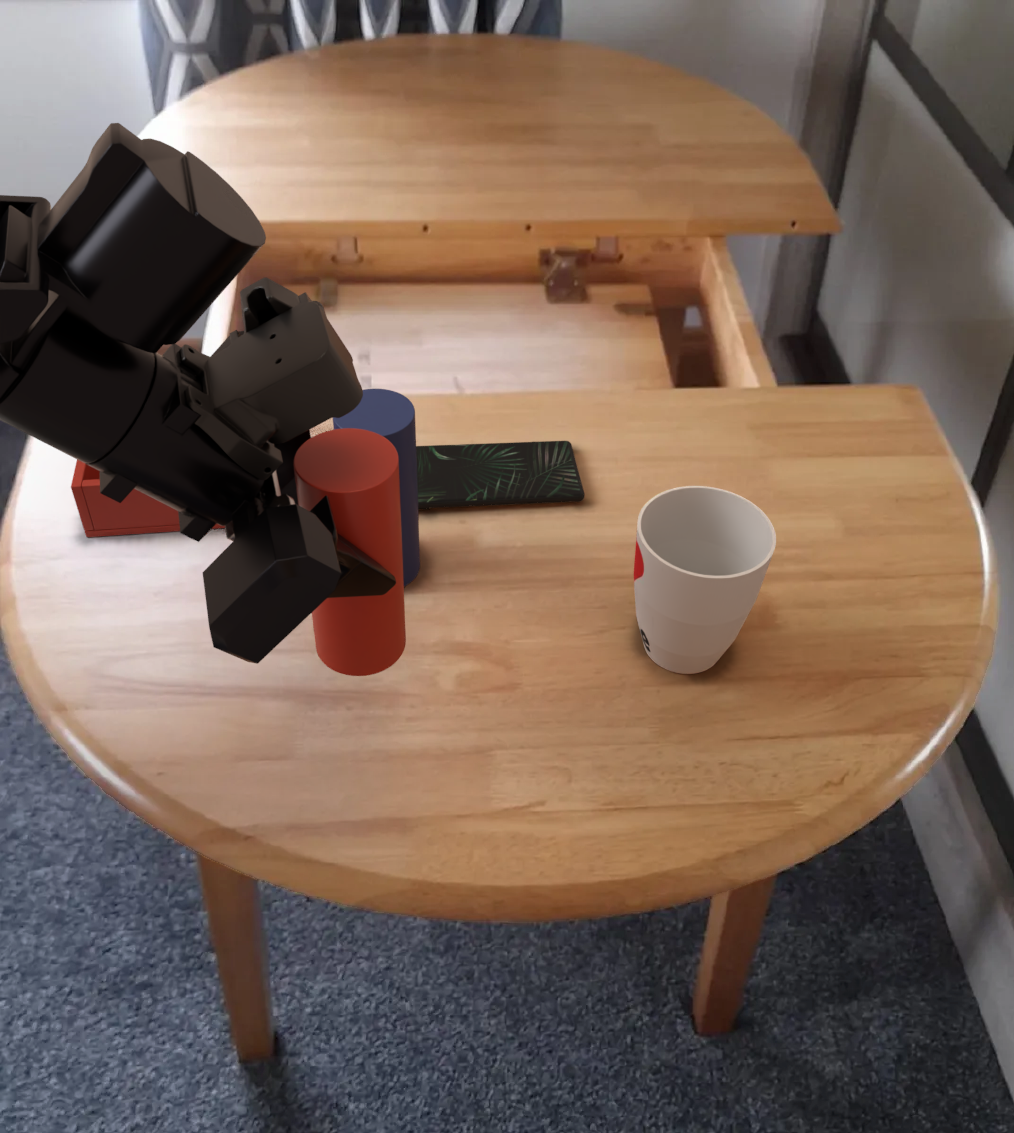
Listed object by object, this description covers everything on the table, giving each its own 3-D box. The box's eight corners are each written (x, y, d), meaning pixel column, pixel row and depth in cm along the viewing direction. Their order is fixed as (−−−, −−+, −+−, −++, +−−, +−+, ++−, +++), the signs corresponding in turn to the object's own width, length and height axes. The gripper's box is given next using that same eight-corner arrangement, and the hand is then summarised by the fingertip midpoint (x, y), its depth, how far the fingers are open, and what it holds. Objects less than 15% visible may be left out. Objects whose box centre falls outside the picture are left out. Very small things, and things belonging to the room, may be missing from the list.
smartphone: (585, 495, 81) (379, 504, 80) (584, 505, 82) (379, 514, 80) (570, 438, 86) (375, 445, 85) (569, 448, 87) (376, 456, 85)
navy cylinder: (334, 581, 76) (318, 425, 67) (365, 535, 79) (353, 381, 70) (403, 599, 75) (395, 444, 66) (430, 552, 78) (427, 398, 69)
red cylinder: (303, 667, 61) (278, 482, 52) (332, 604, 65) (313, 420, 56) (391, 684, 60) (381, 499, 51) (416, 619, 64) (410, 436, 55)
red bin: (86, 537, 78) (70, 486, 75) (104, 442, 86) (91, 392, 83) (246, 526, 79) (237, 476, 76) (250, 433, 87) (242, 384, 84)
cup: (652, 584, 76) (672, 469, 69) (764, 630, 73) (796, 516, 67) (598, 659, 71) (613, 543, 64) (716, 712, 68) (745, 597, 61)
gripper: (260, 401, 39) (543, 577, 49) (213, 174, 52) (445, 349, 62) (76, 598, 43) (374, 724, 53) (75, 340, 56) (315, 480, 66)
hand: (380, 552), depth 58 cm, fingers closed on red cylinder, 5 cm apart
